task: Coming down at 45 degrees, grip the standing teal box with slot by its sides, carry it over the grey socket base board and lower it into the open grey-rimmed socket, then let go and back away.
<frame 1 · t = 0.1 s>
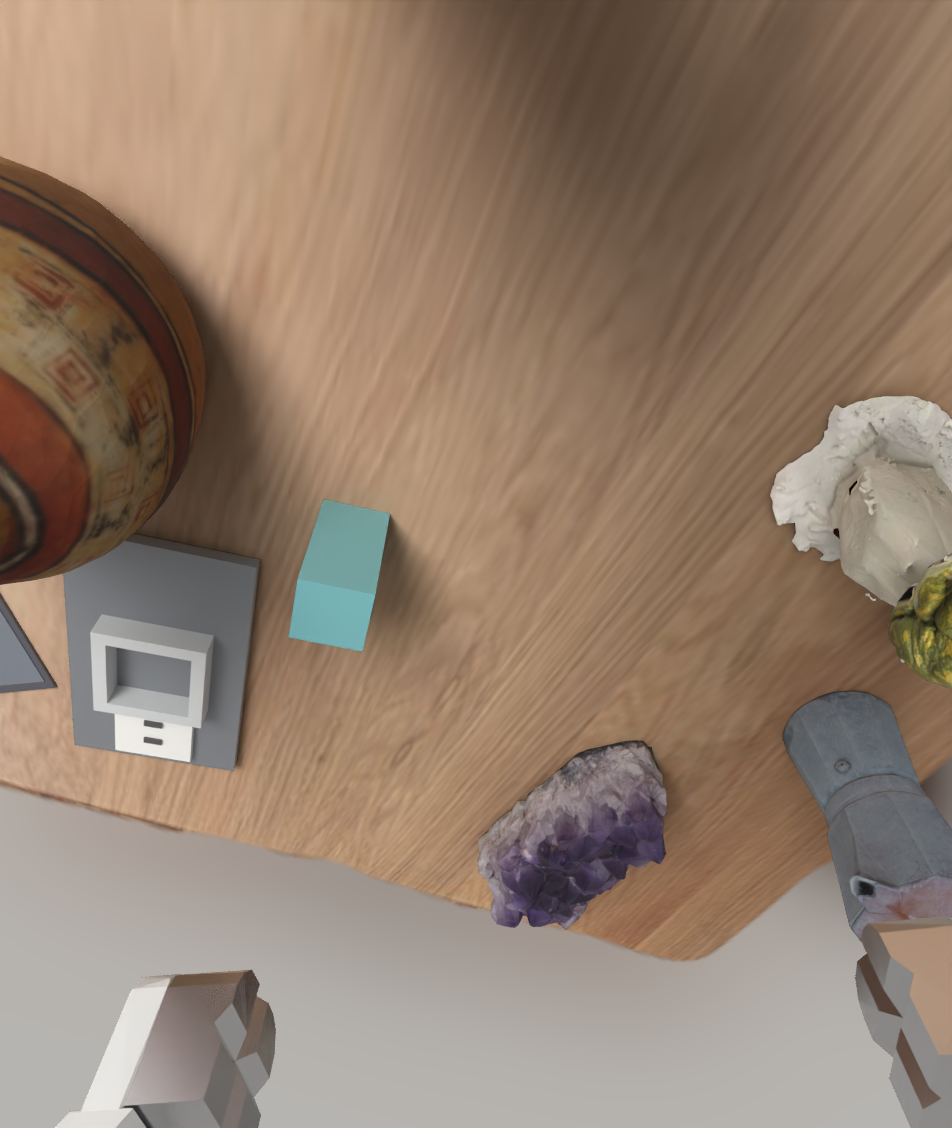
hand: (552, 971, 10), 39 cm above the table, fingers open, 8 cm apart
geode: (568, 800, 70), on the table
moka pot: (840, 725, 64), on the table
teal box with slot: (351, 533, 53), on the table
green-topped white figurine: (860, 475, 50), on the table
grey socket base board: (161, 655, 59), on the table
ceramic pitcher: (56, 330, 45), on the table
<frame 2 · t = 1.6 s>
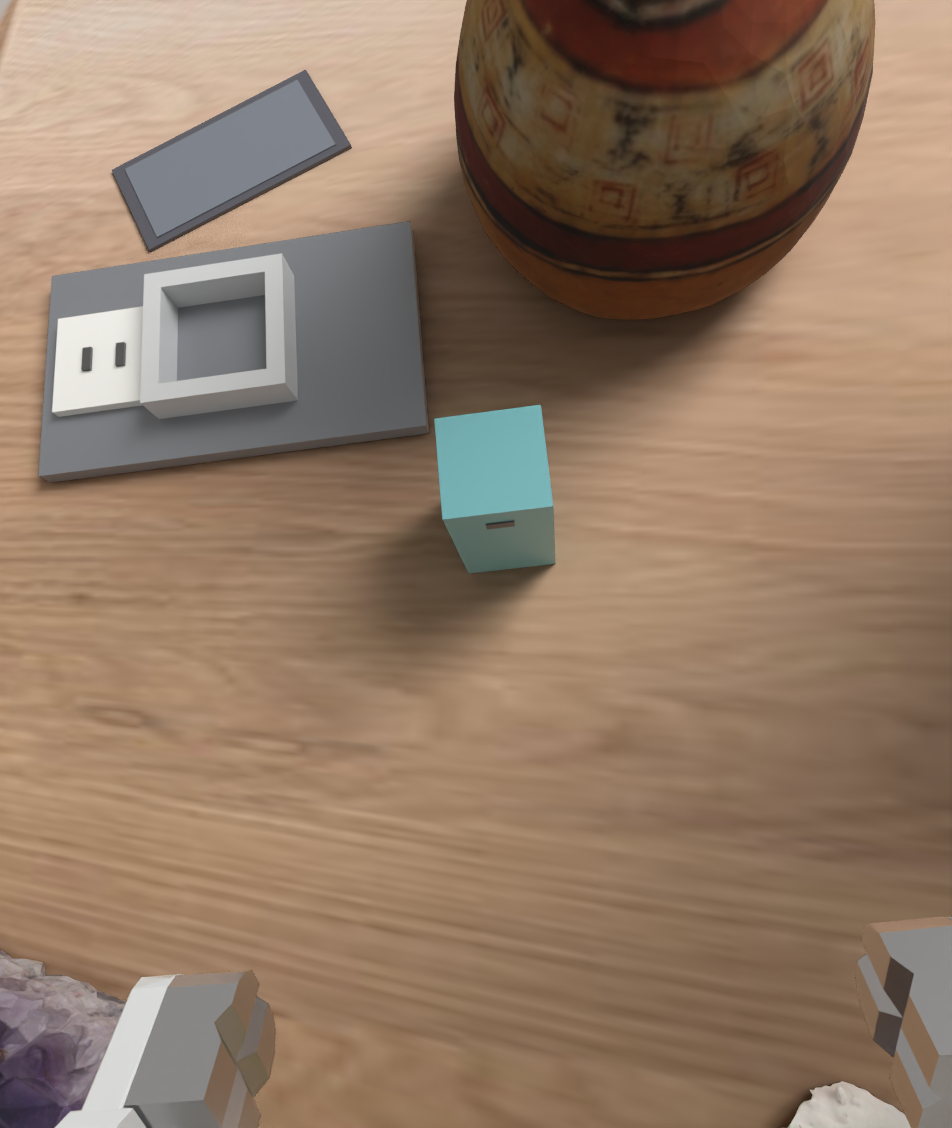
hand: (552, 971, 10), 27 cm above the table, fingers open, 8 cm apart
geode: (55, 1067, 36), on the table
teal box with slot: (507, 527, 40), on the table
grey socket base board: (235, 355, 45), on the table
ceramic pitcher: (638, 199, 45), on the table
phone: (234, 167, 49), on the table
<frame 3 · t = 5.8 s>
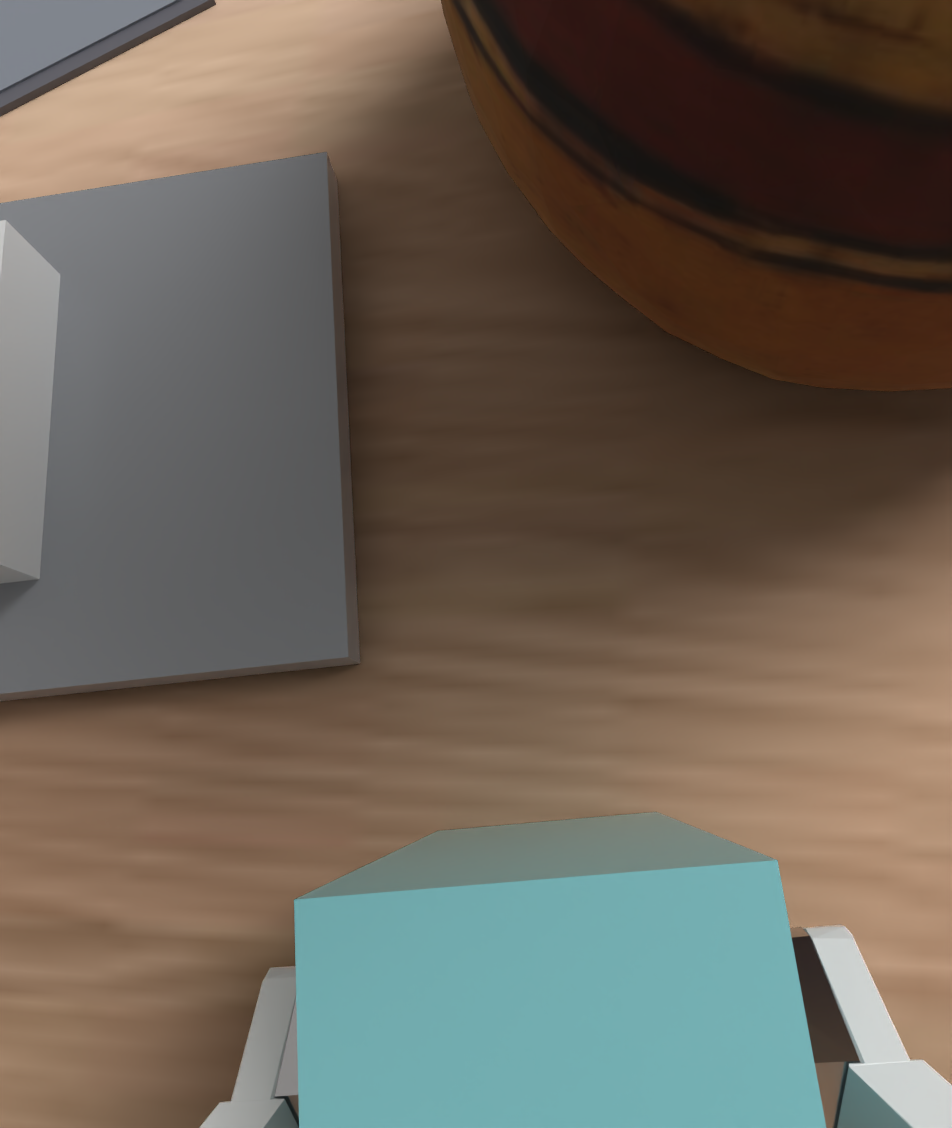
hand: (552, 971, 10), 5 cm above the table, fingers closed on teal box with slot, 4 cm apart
teal box with slot: (558, 940, 15), on the table, touching gripper
ceramic pitcher: (844, 107, 20), on the table
when the fingers open (7 cm above the table, at t = 11.1 s): teal box with slot stays where it is, resting on grey socket base board.
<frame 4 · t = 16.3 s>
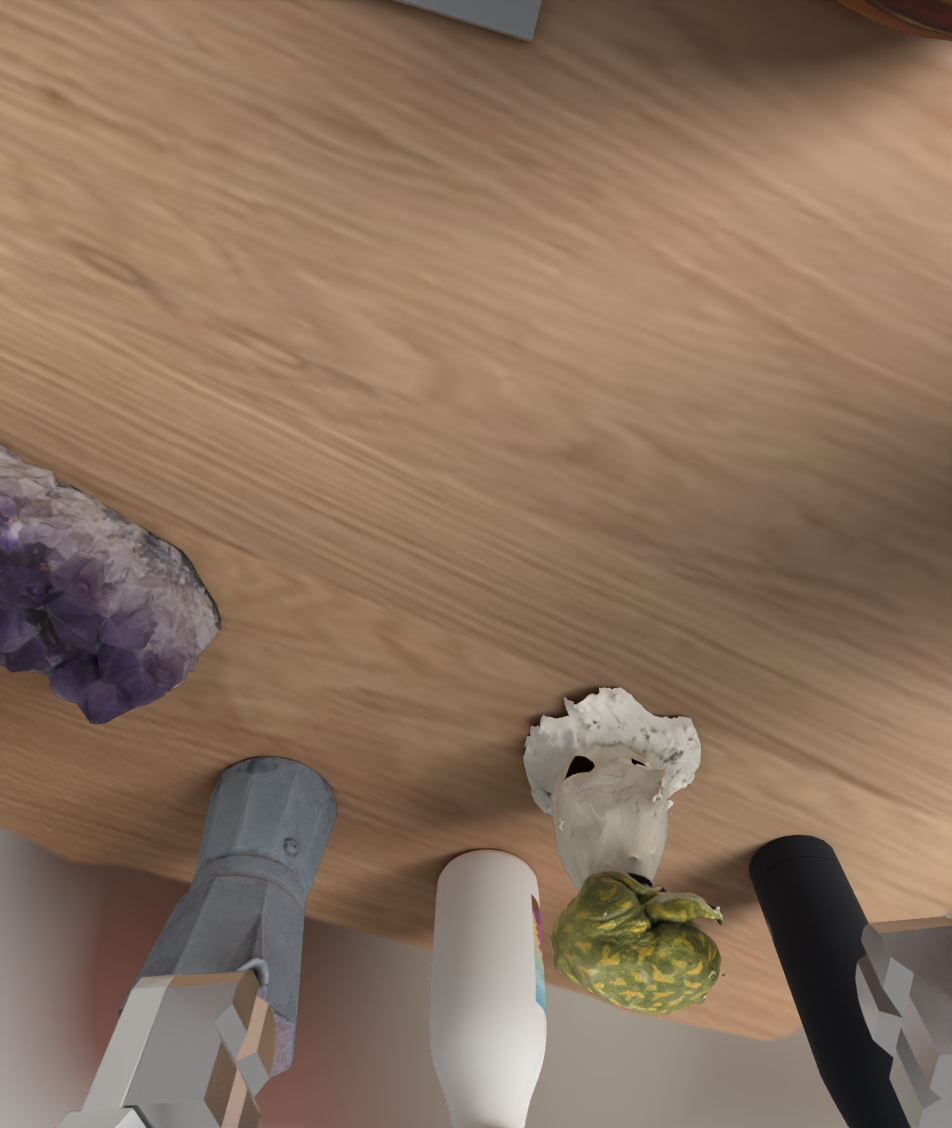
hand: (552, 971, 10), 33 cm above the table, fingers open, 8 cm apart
geode: (68, 541, 45), on the table
moka pot: (277, 802, 55), on the table
milk bottle: (487, 877, 59), on the table
green-topped white figurine: (609, 749, 53), on the table
wine bottle: (790, 861, 58), on the table
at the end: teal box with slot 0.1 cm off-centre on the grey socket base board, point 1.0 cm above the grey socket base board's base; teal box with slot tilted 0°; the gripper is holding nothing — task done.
